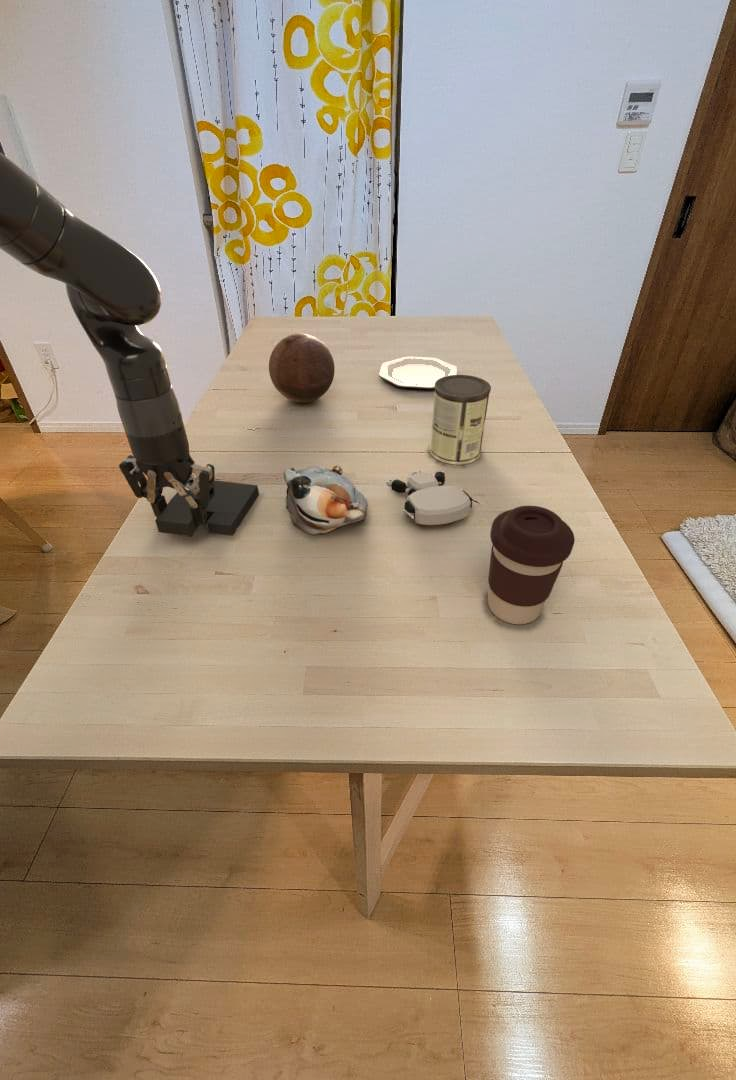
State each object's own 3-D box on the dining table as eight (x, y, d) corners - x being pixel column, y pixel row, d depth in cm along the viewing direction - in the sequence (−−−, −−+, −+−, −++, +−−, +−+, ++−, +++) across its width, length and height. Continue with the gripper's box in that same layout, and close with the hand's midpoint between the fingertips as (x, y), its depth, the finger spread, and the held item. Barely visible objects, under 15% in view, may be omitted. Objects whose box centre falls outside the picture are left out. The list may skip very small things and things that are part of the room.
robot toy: (382, 494, 94) (413, 539, 83) (381, 472, 92) (414, 516, 80) (443, 483, 97) (481, 524, 86) (444, 461, 95) (484, 501, 83)
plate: (456, 364, 141) (457, 358, 140) (455, 394, 126) (456, 388, 125) (385, 360, 143) (385, 355, 142) (375, 389, 128) (375, 384, 127)
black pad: (159, 532, 79) (154, 520, 78) (184, 501, 85) (181, 488, 84) (191, 536, 78) (188, 524, 77) (215, 504, 85) (212, 492, 83)
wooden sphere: (348, 398, 124) (347, 334, 114) (301, 419, 116) (295, 352, 106) (307, 381, 132) (302, 320, 122) (260, 399, 124) (250, 335, 114)
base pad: (159, 526, 86) (156, 516, 85) (192, 486, 95) (189, 477, 94) (232, 535, 84) (230, 526, 83) (259, 494, 93) (257, 485, 92)
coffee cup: (539, 644, 67) (567, 557, 57) (467, 616, 71) (482, 530, 61) (557, 596, 74) (586, 511, 64) (490, 573, 77) (508, 489, 68)
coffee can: (443, 434, 110) (450, 370, 101) (488, 448, 106) (500, 382, 97) (419, 455, 104) (424, 388, 95) (466, 470, 99) (476, 401, 90)
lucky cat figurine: (381, 505, 90) (388, 466, 77) (345, 561, 86) (347, 529, 73) (308, 465, 92) (304, 420, 79) (270, 518, 88) (258, 479, 75)
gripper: (88, 429, 68) (127, 530, 79) (189, 439, 65) (215, 542, 76) (120, 404, 73) (152, 502, 84) (214, 413, 71) (235, 512, 82)
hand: (182, 520), depth 80 cm, fingers closed on black pad, 5 cm apart
